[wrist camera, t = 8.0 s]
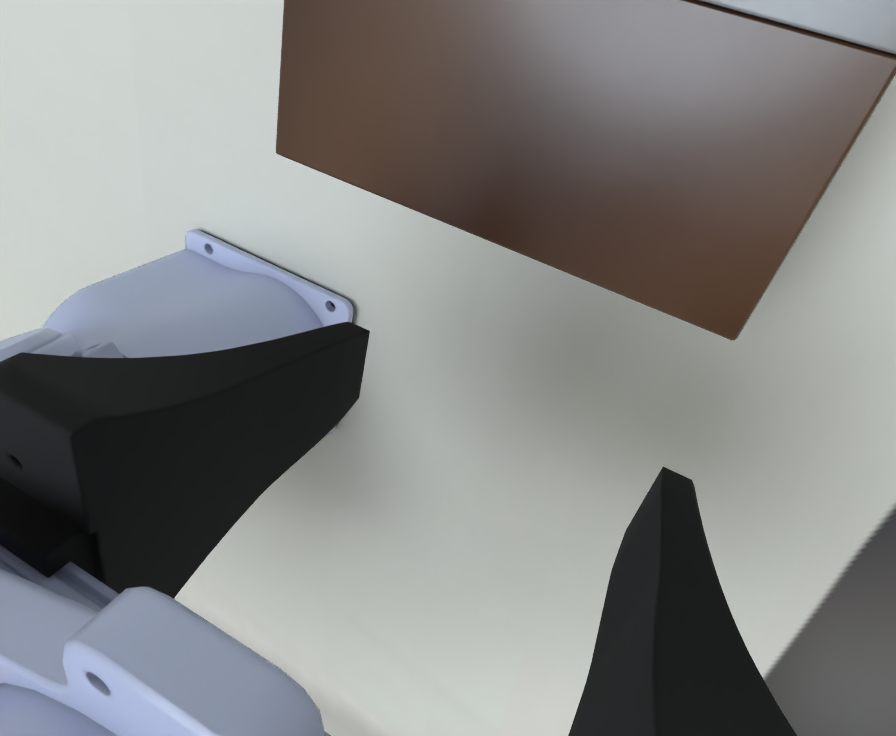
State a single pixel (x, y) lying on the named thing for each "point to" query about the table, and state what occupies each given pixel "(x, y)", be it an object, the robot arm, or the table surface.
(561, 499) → the table surface
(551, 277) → the table surface
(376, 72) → the cabinet
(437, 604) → the table surface
